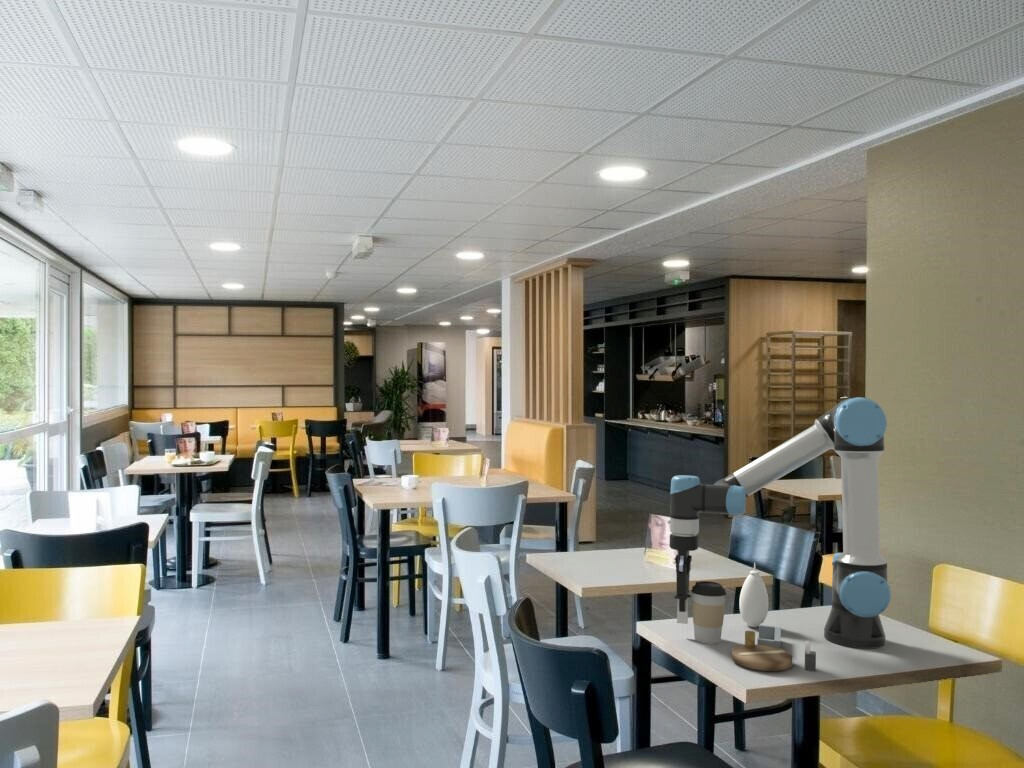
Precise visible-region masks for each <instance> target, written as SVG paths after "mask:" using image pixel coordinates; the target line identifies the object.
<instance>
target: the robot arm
mask: <svg viewBox="0 0 1024 768" xmlns="http://www.w3.org/2000/svg"><path fill="white" fill-rule="evenodd" d="M886 416H887V415H886V414H885V411H884V410H883V408H882V407H881V406H880V405H879V404H878V403H877V402H875V401H874V400H872V399H871V398H867V397H862V396H861V397H860V396H857V397H848V398H845V399H842V400H841V401H839V402H838V403H837V404H835V405H834V406H833V407H832V408H831V409H828V411H827V412H825V413H824V414H822V415H821V416H819V417H818V418H816V419H815V420H814V424H813V425H811V426H810V427H808V428H807V429H804V430H803V431H802V432H800V433H798V434H796V435H795V436H793V437H792V438H789V439H788V440H786V441H784V442H783V443H781V444H780V445H778V446H776V447H775V448H773V449H771V450H769V451H768V452H766V453H765V454H762V455H761V456H760V457H758V458H756V459H754V460H753V461H751V462H749V463H748V464H746V465H744V466H742V467H741V468H739V469H736V471H734V472H733V473H731V474H729V475H727V476H725V477H724V478H722V479H718V480H717V481H716V482H714V483H713V484H704V483H701V481H700V477H699V476H697V475H696V476H695V475H687V474H686V475H685V474H684V475H683V474H681V475H675V476H673V477H672V478H671V480H670V481H671V482H670V492H669V496H670V498H669V499H670V500H669V507H670V508H669V517H670V518H669V520H667V524H668V525H670V526H669V532H670V534H669V547H670V549H671V550H676V551H678V552H677V554H676V555H675V558H674V559H675V572H676V574H675V575H676V595H674V599H676V604H677V606H676V624H682V625H683V624H684V625H688V623H689V598H690V599H692V594H690V573H691V569H692V568H691V567H692V565H691V564H692V561H693V559H692V558H693V556H692V555H690V552H692V551H697V550H698V549H699V536H698V534H699V532H700V515H699V514H700V513H701V514H702V513H703V514H707V513H708V514H716V515H717V514H718V515H719V514H720V515H730V516H734V515H735V516H736V515H739V516H741V515H744V514H745V513H746V507H747V506H746V502H747V500H746V498H748V497H750V496H751V495H753V494H754V493H757V492H758V491H760V490H762V489H763V488H765V487H766V486H767V487H768V485H771V484H772V483H773V482H775V481H778V480H779V479H780V478H781V479H782V477H784V476H786V475H787V474H790V473H791V472H792V471H795V470H796V469H798V468H800V467H802V466H803V465H805V464H806V463H809V462H810V461H812V460H814V459H816V458H817V457H819V456H820V455H823V454H824V453H826V452H828V451H829V450H834V452H835V453H836V454H837V455H838V456H839V457H840V460H841V461H840V462H841V465H840V466H841V467H840V468H841V471H840V472H841V502H842V503H841V504H842V505H841V506H842V508H841V509H842V510H841V511H842V512H841V513H842V514H841V515H842V550H843V551H842V552H836V553H834V554H833V557H832V562H831V565H832V579H831V580H832V583H831V584H832V586H831V587H832V589H831V610H830V611H829V612H830V613H829V615H828V616H827V621H826V623H825V625H824V628H823V630H824V631H823V632H824V633H823V637H824V639H826V640H827V641H828V642H831V643H834V644H836V645H837V644H838V645H841V646H844V647H850V648H858V649H877V648H882V647H884V646H886V633H885V631H884V630H885V629H884V626H883V623H882V620H881V617H880V614H882V613H883V612H885V610H886V609H887V608H888V607H889V605H890V602H891V597H892V591H891V588H890V585H889V583H888V560H887V559H886V558H885V557H883V555H882V554H881V539H880V537H881V536H880V535H881V533H880V532H881V530H880V528H881V527H880V526H881V525H880V492H879V491H880V490H879V488H880V487H879V457H881V455H882V454H883V453H884V452H885V433H886V430H887V426H888V425H887V424H888V423H887V422H888V421H887V417H886Z"/></svg>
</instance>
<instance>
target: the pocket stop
mask: <svg viewBox="0 0 1024 768" xmlns="http://www.w3.org/2000/svg"><path fill="white" fill-rule="evenodd" d="M781 629H782V628H781V626H780V627H778V626H775V625H766V624H760V625H759V626H758V638H757V645H766V646H772V647H776V648H780V649H781V645H782V644H781V639H782V637H781V634H782V633H781V632H782V631H781Z"/></svg>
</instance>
